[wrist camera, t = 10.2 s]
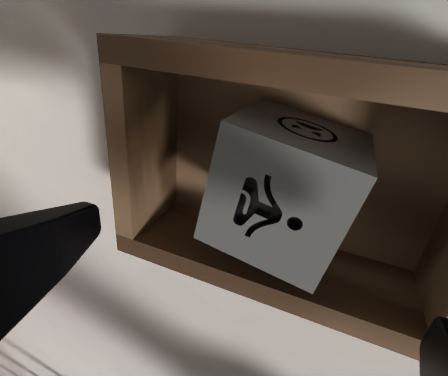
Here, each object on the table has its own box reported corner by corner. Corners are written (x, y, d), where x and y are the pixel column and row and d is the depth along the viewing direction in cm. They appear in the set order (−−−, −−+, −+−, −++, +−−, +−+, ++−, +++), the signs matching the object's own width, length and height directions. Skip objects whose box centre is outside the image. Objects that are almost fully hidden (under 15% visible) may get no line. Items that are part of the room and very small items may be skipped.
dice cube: (263, 97, 14) (220, 120, 10) (372, 134, 13) (378, 178, 9) (236, 188, 17) (193, 237, 12) (325, 226, 15) (312, 294, 11)
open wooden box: (426, 283, 15) (451, 372, 11) (168, 206, 20) (117, 249, 16) (534, 73, 11) (643, 92, 7) (168, 36, 15) (96, 33, 11)
